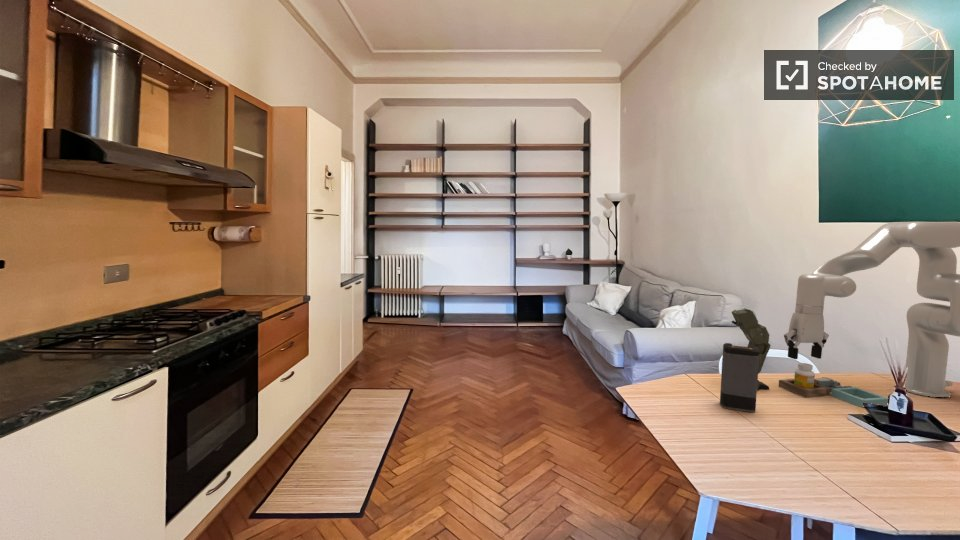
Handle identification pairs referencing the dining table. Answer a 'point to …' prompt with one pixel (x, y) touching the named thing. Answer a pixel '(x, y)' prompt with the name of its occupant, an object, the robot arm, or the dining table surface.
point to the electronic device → (739, 377)
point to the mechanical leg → (753, 336)
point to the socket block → (803, 392)
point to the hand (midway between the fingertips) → (804, 357)
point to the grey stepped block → (826, 382)
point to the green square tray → (853, 392)
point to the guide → (838, 386)
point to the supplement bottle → (804, 376)
